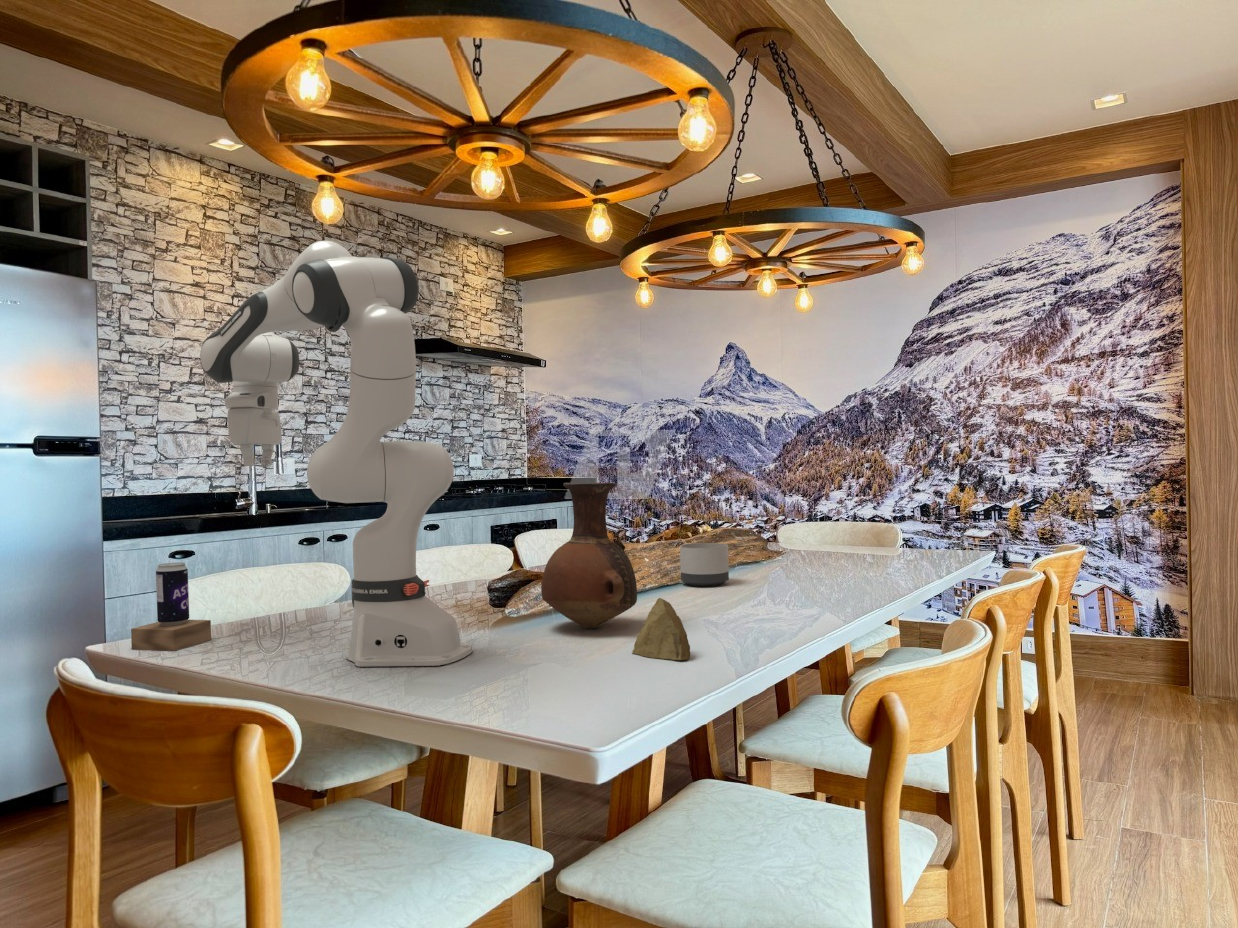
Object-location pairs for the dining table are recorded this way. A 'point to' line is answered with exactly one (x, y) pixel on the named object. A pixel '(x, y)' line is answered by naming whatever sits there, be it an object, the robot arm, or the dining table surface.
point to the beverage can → (172, 594)
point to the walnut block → (170, 635)
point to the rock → (662, 634)
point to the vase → (589, 564)
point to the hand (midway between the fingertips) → (258, 465)
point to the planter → (704, 564)
